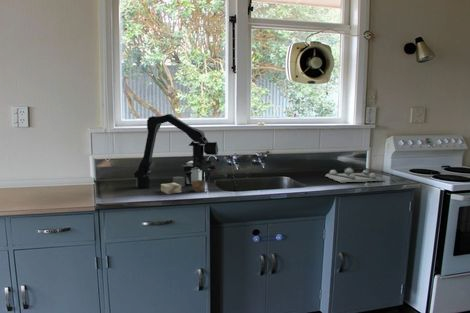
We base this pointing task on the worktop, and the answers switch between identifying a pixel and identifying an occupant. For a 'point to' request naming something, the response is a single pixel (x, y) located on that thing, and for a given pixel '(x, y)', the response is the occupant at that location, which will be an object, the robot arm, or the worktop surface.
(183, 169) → the robot arm
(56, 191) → the worktop surface
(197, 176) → the supplement box
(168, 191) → the birch block
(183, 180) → the gray cube
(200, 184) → the walnut cube
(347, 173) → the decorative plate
